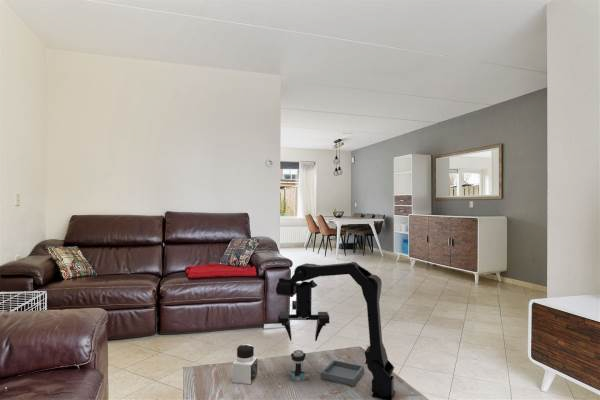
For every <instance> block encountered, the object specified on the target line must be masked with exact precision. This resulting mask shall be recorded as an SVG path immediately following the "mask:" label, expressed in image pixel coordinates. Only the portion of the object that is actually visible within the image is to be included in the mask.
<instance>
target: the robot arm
mask: <svg viewBox="0 0 600 400" xmlns="http://www.w3.org/2000/svg"><path fill="white" fill-rule="evenodd" d="M293 272H294V273H293V275H292V276H291V278H288V277H287V278H286V277H283V276H281V277H279V278H278V282H277V284H276V288H275V293H276V295H277V296H280V297H288V298H293V297H294V296H295V300H292V303H291V307H292V309H291V310H295V313H294V314H290V311H279V312H278V314H277V323H278V324H281V326H283V327H284V328H285V330H286V332H287V335H288V337H289V341H290V342H292V330H291V321H316V327H315V333H314V335H315V336H314V338H315V339H314V341H315V342H317V341H318V338H319V335H320V333H321V331H322V329H323V327H325V326H327V324H330V315H329V312H328V311H317V314H312V297H313V296H312V289H314V288H316V287H318V283H316V282H315V280H314V279H315V278H320V277H329V276H342V275H349V276H350V277H351V278H352V279H353V280H354V282H355V283H356V284H357V285H359V287H360V288H361V291H362V295H363V298H364V300H365V303H366V307H367V308H366V311H367V312H366V313H367V324H368V335H369V336H368V338H369V346H367V348H366V349H365V350H364V357H365V364H364V365H367V366H366V367H367V369H368V371H369V372H370V373H371V374H372V377H373V378H372V379H371V392H372V393H371V397H373V398H375V399H376V398H377V399H381V400H393V398H394V396H395V393H396V391H395V389H394V387H395V386H394V385H395V382H394V381H395V376H394V375H392V374H393V372H394V369H395V366H394V365H393V364H392V363H391V362H390V360H389V359H388V354H387V351H386V348H385V346H384V342H383V335H382V321H381V310H380V309H381V307H380V298H381V295H382V294H381V293H382V284H383V283H382V279H381V277H379V276H378V275H376V274H372V273H371V272H370V271H369V270H368V269H366V268H365V267H362V266H361V265H359V263H357V262H356V261H351V262H344V263H334V264H333V263H331V264H322V265H321V264H315V263H303V264H299V265H298V266H296V267H295V268H294V270H293ZM309 280H310V281H309Z"/></svg>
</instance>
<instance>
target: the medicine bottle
mask: <svg viewBox="0 0 600 400" xmlns="http://www.w3.org/2000/svg"><path fill="white" fill-rule="evenodd" d="M254 348H255V347H254V346H253V345H251V344H248V343H246V344H245V343H244V344H240V345H239V346H237V348H236V358H235V360H234V361H233V362H232V383H237V384H244V385H245V384H246V385H252V384H253V382H254V381H255V379H256V378H257V377H258V357H257V356H254V354H255V353H254V352H255V349H254Z"/></svg>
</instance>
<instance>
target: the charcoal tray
mask: <svg viewBox="0 0 600 400" xmlns="http://www.w3.org/2000/svg"><path fill="white" fill-rule="evenodd" d="M364 373H365V365H363V364H357V363H352V362H348V361H347V362H346V361H342V360H338V359H337V360H336V359H332V360H331V361H330V363H328V364H327V366H325V368H323V370H321V372H320V380H322V381H326V382H327V381H328V382H332V383H337V384H339V385H345V386H348V387H349V386H350V387H352V388H354V387H355V386H356V384H357V383H358V381H359V380H360V379H361V377H362V376H363V375H364Z"/></svg>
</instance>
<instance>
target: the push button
mask: <svg viewBox="0 0 600 400" xmlns="http://www.w3.org/2000/svg"><path fill="white" fill-rule="evenodd" d="M306 355H307V354H306V352H304V351H303V350H300V349H297V350H293V352H292V353H291V354H290V356H291V357H290V358H291V360H292V361H293V362H292V364H293V369H292V371H291V381H297V382H300V381H303V382H304V381H305V379H310V377H309V376H310V374H306V373H305V370H304V361H305V359H306Z"/></svg>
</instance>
